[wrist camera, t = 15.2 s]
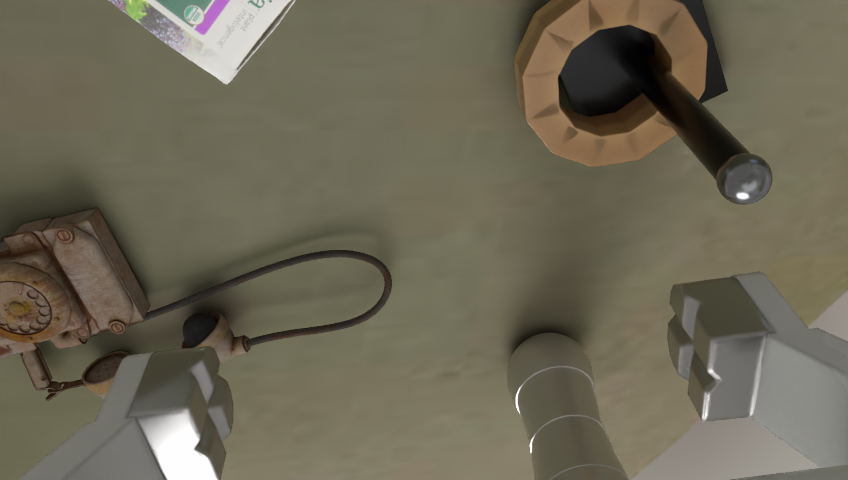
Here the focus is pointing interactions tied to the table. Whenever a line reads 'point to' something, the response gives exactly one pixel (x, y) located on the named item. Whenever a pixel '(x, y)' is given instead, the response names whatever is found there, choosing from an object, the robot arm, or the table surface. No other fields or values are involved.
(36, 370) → the telephone
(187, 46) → the syrup box
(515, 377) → the plastic bottle
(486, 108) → the table surface
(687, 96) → the stand
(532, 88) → the ring
